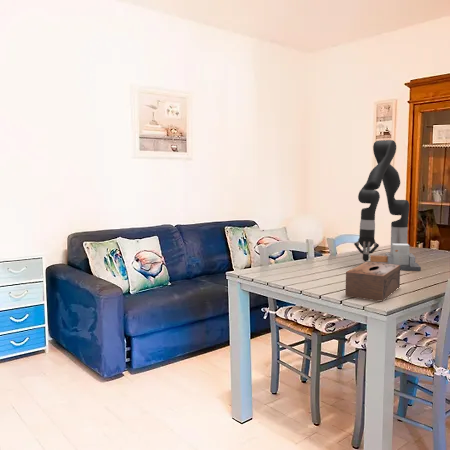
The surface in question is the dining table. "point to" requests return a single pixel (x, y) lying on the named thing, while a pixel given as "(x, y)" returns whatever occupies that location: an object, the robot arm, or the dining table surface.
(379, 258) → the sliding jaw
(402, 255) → the small box
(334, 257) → the dining table surface
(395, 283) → the tissue box cover
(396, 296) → the dining table surface
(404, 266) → the vise
